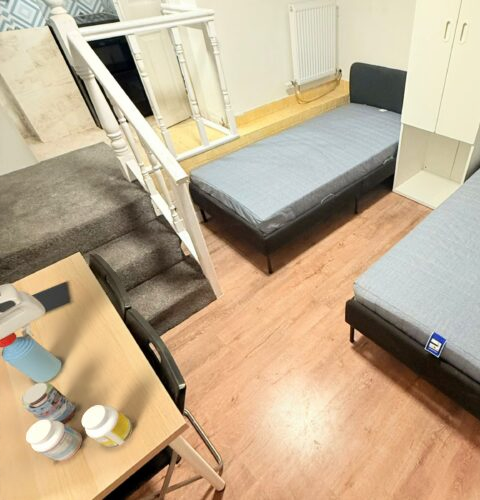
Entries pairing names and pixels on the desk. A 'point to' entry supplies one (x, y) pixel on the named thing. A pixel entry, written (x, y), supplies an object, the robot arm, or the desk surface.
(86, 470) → the desk surface
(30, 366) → the water bottle
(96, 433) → the pill bottle
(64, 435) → the pill bottle
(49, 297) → the coaster
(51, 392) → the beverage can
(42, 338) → the desk surface
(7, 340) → the cap
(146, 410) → the desk surface
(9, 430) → the desk surface
